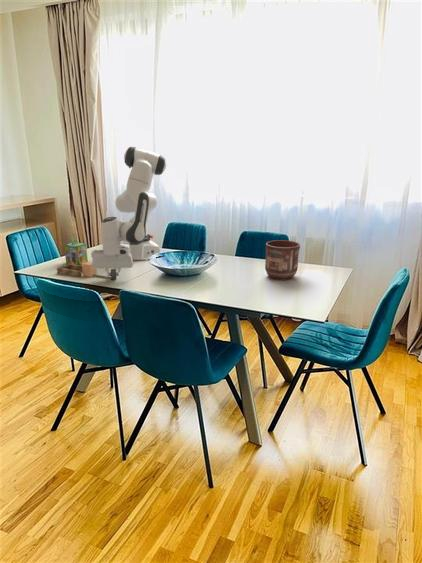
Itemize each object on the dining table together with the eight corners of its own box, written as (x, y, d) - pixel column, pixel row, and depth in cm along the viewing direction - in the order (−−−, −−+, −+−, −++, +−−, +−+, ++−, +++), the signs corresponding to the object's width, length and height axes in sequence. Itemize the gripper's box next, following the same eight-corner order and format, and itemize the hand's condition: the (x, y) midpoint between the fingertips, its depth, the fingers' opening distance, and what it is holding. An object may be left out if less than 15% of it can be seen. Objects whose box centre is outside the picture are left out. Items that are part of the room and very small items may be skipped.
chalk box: (79, 266, 237) (76, 241, 232) (65, 265, 240) (62, 239, 235) (88, 262, 245) (86, 237, 241) (75, 260, 248) (72, 236, 243)
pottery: (297, 283, 210) (300, 248, 205) (262, 280, 214) (264, 246, 208) (297, 273, 227) (300, 240, 221) (265, 271, 230) (267, 239, 225)
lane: (57, 273, 224) (56, 268, 223) (69, 268, 232) (69, 263, 231) (79, 277, 218) (79, 271, 217) (91, 272, 226) (91, 267, 225)
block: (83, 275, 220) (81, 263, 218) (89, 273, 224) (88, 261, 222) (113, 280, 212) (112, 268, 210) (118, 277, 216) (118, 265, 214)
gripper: (89, 251, 206) (92, 278, 210) (131, 251, 207) (132, 277, 212) (92, 248, 212) (94, 274, 216) (132, 247, 213) (134, 273, 218)
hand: (113, 275), depth 214 cm, fingers closed on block, 3 cm apart
